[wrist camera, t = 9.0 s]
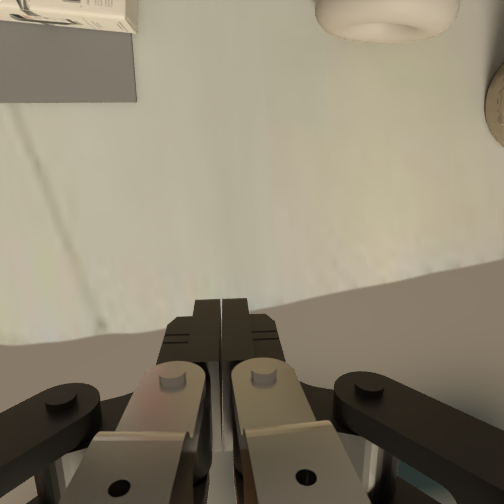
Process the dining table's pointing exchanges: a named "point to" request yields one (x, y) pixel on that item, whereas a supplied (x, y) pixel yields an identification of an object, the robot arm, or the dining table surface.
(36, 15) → the ink box
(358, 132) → the dining table surface
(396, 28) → the donut
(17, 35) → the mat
